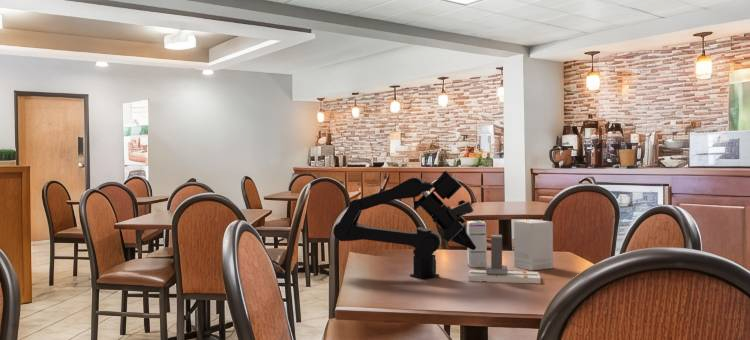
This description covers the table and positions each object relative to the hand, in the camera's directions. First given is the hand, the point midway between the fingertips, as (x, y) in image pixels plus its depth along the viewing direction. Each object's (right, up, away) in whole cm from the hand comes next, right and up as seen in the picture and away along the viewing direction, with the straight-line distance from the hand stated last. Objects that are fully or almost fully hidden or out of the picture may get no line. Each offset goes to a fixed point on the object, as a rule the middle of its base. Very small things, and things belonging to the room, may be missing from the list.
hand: (475, 248), depth 173 cm
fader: (+6, -7, -1) cm, 9 cm away
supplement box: (+22, -8, +17) cm, 29 cm away
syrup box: (+4, -8, +20) cm, 22 cm away
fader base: (+7, -9, -1) cm, 11 cm away
